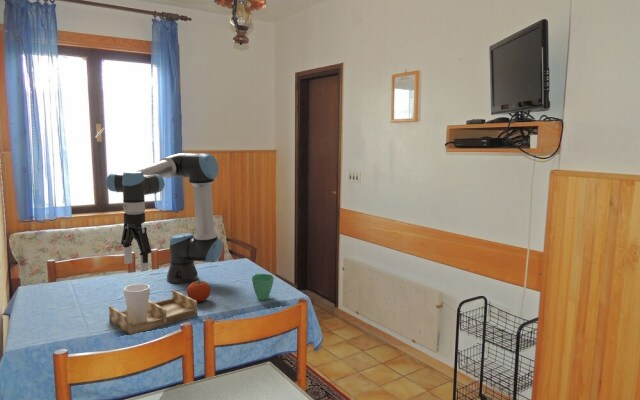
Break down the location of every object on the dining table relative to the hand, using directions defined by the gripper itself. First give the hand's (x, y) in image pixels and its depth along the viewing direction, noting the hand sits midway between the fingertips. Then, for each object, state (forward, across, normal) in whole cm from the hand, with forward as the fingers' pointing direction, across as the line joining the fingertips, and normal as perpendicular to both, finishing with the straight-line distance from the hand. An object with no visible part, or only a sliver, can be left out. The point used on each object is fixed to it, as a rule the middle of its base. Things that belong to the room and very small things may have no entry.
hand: (136, 267), depth 175 cm
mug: (+23, +10, +54) cm, 59 cm away
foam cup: (+21, 0, 0) cm, 21 cm away
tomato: (+23, -4, +30) cm, 38 cm away
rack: (+22, 0, +7) cm, 23 cm away
